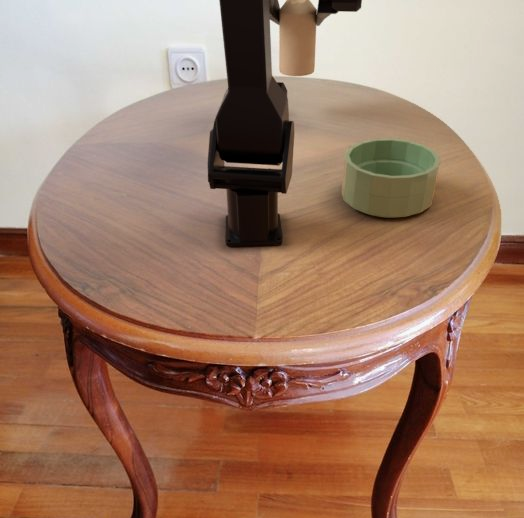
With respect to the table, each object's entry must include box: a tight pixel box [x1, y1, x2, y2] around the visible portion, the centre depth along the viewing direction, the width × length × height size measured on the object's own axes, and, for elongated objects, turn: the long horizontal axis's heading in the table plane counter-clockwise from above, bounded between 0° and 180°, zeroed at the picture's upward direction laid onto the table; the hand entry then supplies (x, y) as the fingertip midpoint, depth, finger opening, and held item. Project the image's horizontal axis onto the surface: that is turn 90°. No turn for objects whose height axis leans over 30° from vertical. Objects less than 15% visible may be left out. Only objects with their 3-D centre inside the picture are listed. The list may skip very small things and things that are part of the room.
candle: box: [278, 0, 317, 77], centre depth 89 cm, size 6×6×10 cm
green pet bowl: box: [341, 137, 441, 219], centre depth 73 cm, size 11×11×6 cm
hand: (299, 22), depth 89 cm, fingers closed on candle, 5 cm apart
